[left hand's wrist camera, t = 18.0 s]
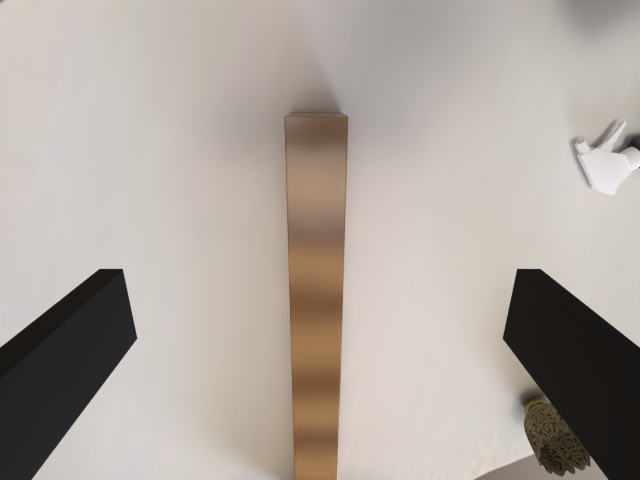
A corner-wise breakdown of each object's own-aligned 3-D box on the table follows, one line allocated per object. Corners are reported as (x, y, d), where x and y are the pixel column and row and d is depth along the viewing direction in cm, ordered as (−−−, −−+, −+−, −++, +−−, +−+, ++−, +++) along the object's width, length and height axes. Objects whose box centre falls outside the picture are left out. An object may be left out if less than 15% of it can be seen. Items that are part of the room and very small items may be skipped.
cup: (571, 404, 54) (612, 454, 46) (528, 433, 56) (561, 485, 48) (541, 375, 52) (579, 422, 44) (498, 405, 54) (527, 455, 46)
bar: (290, 112, 40) (284, 116, 32) (342, 112, 40) (348, 116, 32) (299, 490, 60) (296, 546, 53) (333, 490, 60) (335, 545, 53)
